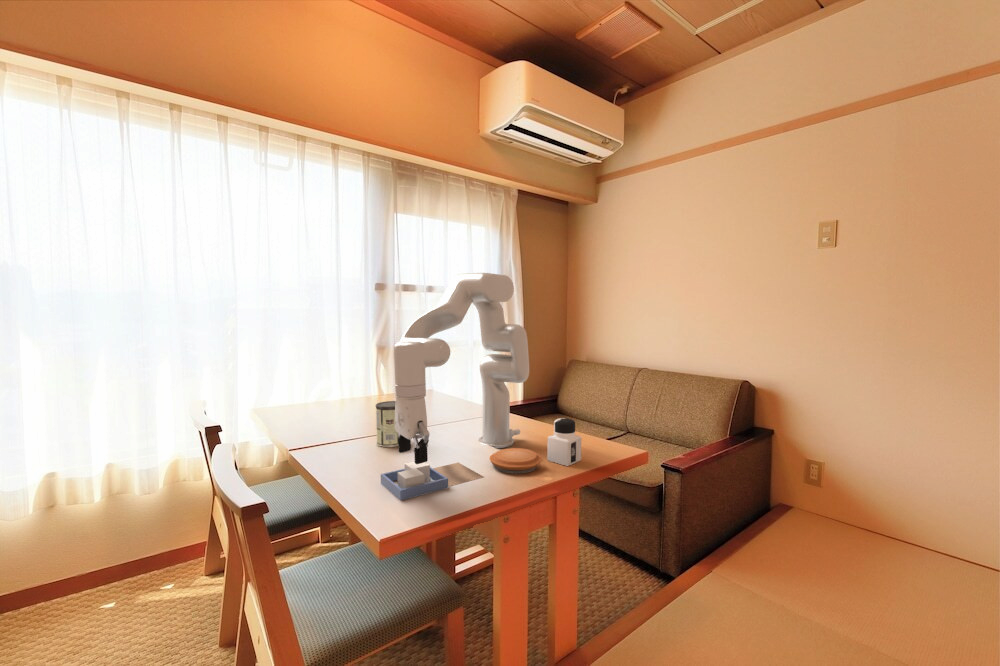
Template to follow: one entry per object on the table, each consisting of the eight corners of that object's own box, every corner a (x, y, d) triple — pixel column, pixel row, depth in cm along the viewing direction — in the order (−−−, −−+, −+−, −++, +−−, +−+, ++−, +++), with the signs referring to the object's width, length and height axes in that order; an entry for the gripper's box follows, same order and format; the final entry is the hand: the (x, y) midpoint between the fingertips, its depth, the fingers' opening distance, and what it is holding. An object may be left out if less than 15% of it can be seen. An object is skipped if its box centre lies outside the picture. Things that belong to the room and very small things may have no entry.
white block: (421, 477, 118) (421, 459, 118) (429, 483, 114) (429, 465, 114) (404, 481, 115) (404, 463, 115) (412, 487, 111) (412, 468, 111)
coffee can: (399, 437, 159) (399, 399, 158) (410, 444, 150) (410, 404, 150) (371, 442, 153) (371, 402, 152) (382, 449, 144) (381, 408, 144)
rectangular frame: (425, 476, 121) (425, 463, 120) (448, 492, 110) (448, 478, 110) (380, 487, 113) (380, 474, 113) (400, 505, 102) (400, 490, 102)
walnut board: (458, 466, 128) (458, 462, 128) (484, 481, 117) (484, 476, 117) (424, 474, 122) (424, 470, 122) (448, 490, 111) (449, 486, 111)
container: (581, 460, 134) (582, 419, 133) (567, 466, 128) (568, 424, 128) (561, 454, 139) (561, 415, 139) (546, 460, 134) (547, 419, 133)
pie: (479, 468, 128) (479, 451, 127) (519, 457, 137) (519, 442, 137) (511, 484, 115) (511, 466, 115) (552, 471, 125) (553, 454, 124)
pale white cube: (416, 487, 112) (415, 468, 111) (424, 493, 108) (424, 474, 107) (397, 491, 109) (397, 472, 109) (405, 498, 105) (405, 478, 104)
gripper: (383, 387, 112) (385, 450, 113) (411, 399, 98) (413, 471, 99) (410, 383, 116) (412, 444, 118) (440, 394, 102) (442, 463, 104)
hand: (412, 456), depth 109 cm, fingers open, 9 cm apart
